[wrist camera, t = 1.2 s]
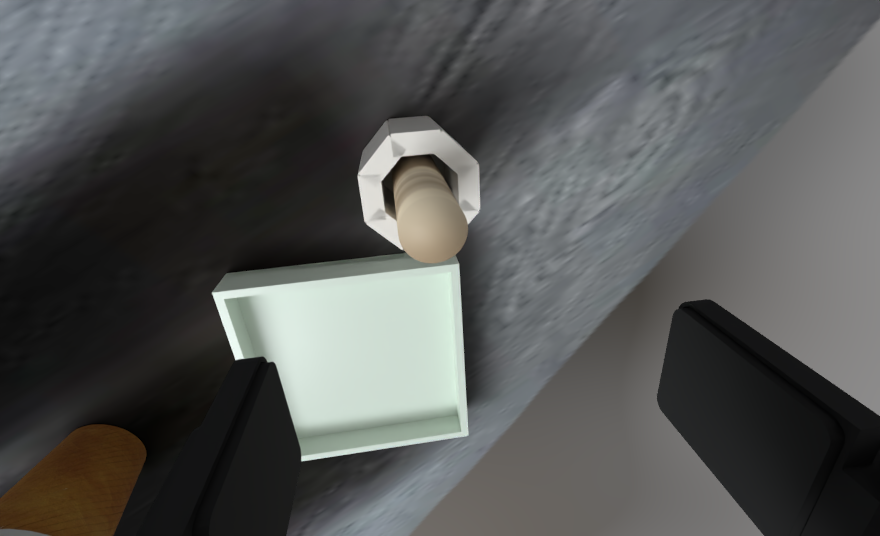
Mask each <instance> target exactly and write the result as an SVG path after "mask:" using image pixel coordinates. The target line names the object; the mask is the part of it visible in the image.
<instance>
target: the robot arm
mask: <svg viewBox="0 0 880 536" xmlns="http://www.w3.org/2000/svg"><path fill="white" fill-rule="evenodd" d="M657 401H658V405H659V407H660V409H661V411H662V412H663V413H664V414H665V416H666V417H667V418H668V419H669V420H670V422H671V423H672V424H673V426H674V427H675V428H676V429H677V430H678V432H679V433H680V434H681V435H682V436H683V438H684V439H685V440H686V441H687V442H688V444H689V445H690V446H691V447H692V449H693V450H694V451H695V452H696V453H697V455H698V456H699V457H700V458H701V460H702V461H703V462H704V463H705V464H706V466H707V467H708V468H709V469H710V470H711V471H712V473H713V474H714V475H715V476H716V478H717V479H718V480H719V481H720V483H721V484H722V485H723V486H724V487H725V488H726V490H727V491H728V492H729V493H730V495H731V496H732V497H733V498H734V500H735V501H736V502H737V503H738V504H739V506H740V507H741V508H742V509H743V510H744V512H745V513H746V514H747V515H748V517H749V518H750V519H751V520H752V521H753V523H754V524H755V525H756V526H757V527H758V529H759V530H760V531H761V532H762V534H763V535H764V536H880V416H879V415H877V414H876V413H874V412H873V411H871V410H870V409H869V408H867V407H866V406H864V405H863V404H861V403H860V402H859V401H857V400H856V399H854V398H852V397H851V396H850V395H848V394H847V393H845V392H844V391H843V390H841V389H840V388H838V387H837V386H835V385H834V384H832V383H831V382H830V381H828V380H827V379H825V378H824V377H822V376H821V375H819V374H818V373H816V372H815V371H814V370H812V369H810V368H809V367H808V366H806V365H805V364H803V363H802V362H800V361H799V360H798V359H796V358H795V357H793V356H792V355H790V354H789V353H788V352H786V351H785V350H783V349H782V348H780V347H779V346H777V345H776V344H774V343H773V342H772V341H770V340H769V339H767V338H766V337H764V336H763V335H761V334H760V333H759V332H757V331H756V330H754V329H753V328H751V327H750V326H748V325H747V324H746V323H744V322H742V321H741V320H740V319H738V318H737V317H735V316H734V315H732V314H731V313H730V312H728V311H727V310H725V309H724V308H722V307H721V306H719V305H718V304H717V303H715V302H713V301H711V300H698V301H690V302H684V303H682V304H681V305H680V306H679V309H678V310H676V311H675V312H674V314H673V318H672V323H671V328H670V333H669V338H668V343H667V348H666V353H665V359H664V364H663V369H662V373H661V379H660V384H659V389H658V394H657ZM300 467H301V448H300V445H299V441H298V438H297V434H296V431H295V428H294V424H293V421H292V418H291V414H290V411H289V407H288V404H287V401H286V397H285V394H284V390H283V387H282V384H281V380H280V377H279V373H278V370H277V367H276V364H275V363H274V362H267V360H266V358H265V357H263V356H262V357H254V358H246V359H238V360H236V361H235V362H234V363H233V365H232V366H231V368H230V370H229V372H228V374H227V376H226V378H225V380H224V382H223V384H222V386H221V388H220V390H219V392H218V393H217V395H216V397H215V399H214V401H213V403H212V405H211V407H210V409H209V411H208V413H207V415H206V417H205V419H204V420H203V422H202V424H201V426H200V427H198V428H196V429H195V430H193V432H192V433H191V434H190V436H189V437H188V439H187V441H186V443H185V445H184V447H183V449H182V451H181V452H180V454H179V456H178V458H177V460H176V462H175V464H174V465H173V467H172V469H171V471H170V473H169V475H168V477H167V479H166V480H165V482H164V484H163V486H162V488H161V490H160V492H159V494H158V495H157V497H156V499H155V501H154V503H153V505H152V507H151V508H150V510H149V512H148V514H147V516H146V518H145V520H144V522H143V523H142V525H141V527H140V529H139V531H138V533H137V535H136V536H286V534H287V529H288V524H289V519H290V515H291V510H292V505H293V500H294V496H295V491H296V486H297V481H298V477H299V472H300Z"/></svg>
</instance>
